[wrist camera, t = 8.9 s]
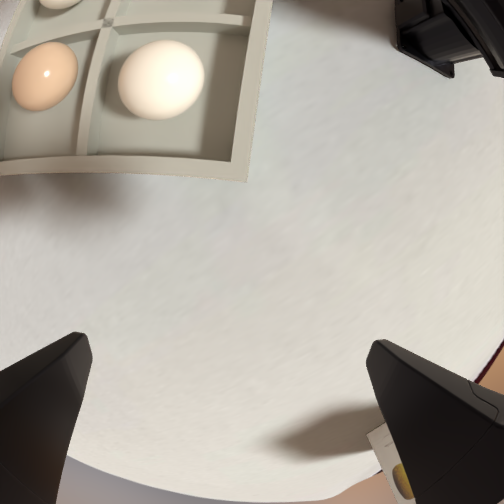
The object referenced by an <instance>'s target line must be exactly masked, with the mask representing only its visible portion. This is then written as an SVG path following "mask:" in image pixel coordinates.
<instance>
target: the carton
mask: <svg viewBox="0 0 504 504" xmlns="http://www.w3.org/2000/svg"><path fill="white" fill-rule="evenodd" d="M272 4H273V0H81V1H80V2H78V3H77V4H75V5H73V6H70V7H68V8H64V9H49V8H46V7H45V6H43V5H42V4H41V3H40V1H39V0H20V2H19V4H18V6H17V9H16V11H15V13H14V15H13V17H12V20H11V22H10V25H9V27H8V30H7V32H6V35H5V37H4V40H3V43H2V46H1V49H0V176H4V175H19V174H39V173H131V174H153V175H170V176H184V177H197V178H209V179H219V180H229V181H238V182H247V178H248V170H249V163H250V155H251V148H252V140H253V133H254V126H255V118H256V111H257V104H258V97H259V90H260V83H261V76H262V69H263V62H264V56H265V49H266V42H267V36H268V29H269V23H270V16H271V10H272ZM156 40H175V41H179V42H182V43H184V44H186V45H188V46H189V47H191V48H192V49H193V50H194V51H195V52H196V53H197V54H198V55H199V57H200V59H201V61H202V63H203V66H204V70H205V81H204V86H203V89H202V92H201V94H200V96H199V97H198V99H197V100H196V102H195V103H194V104H193V105H192V106H191V107H190V108H189V109H188V110H187V111H185V112H184V113H182V114H180V115H178V116H176V117H174V118H171V119H167V120H161V121H153V120H147V119H143V118H140V117H138V116H136V115H134V114H133V113H132V112H130V111H129V110H128V109H127V108H126V107H125V105H124V104H123V102H122V100H121V98H120V96H119V92H118V76H119V73H120V70H121V68H122V65H123V64H124V62H125V61H126V59H127V58H128V57H129V56H130V54H131V53H133V52H134V51H135V50H136V49H138V48H139V47H141V46H142V45H144V44H147V43H149V42H152V41H156ZM47 42H60V43H63V44H65V45H67V46H69V47H70V48H71V49H72V50H73V51H74V53H75V55H76V57H77V60H78V76H77V79H76V82H75V84H74V86H73V88H72V90H71V91H70V93H69V94H68V95H67V96H66V98H65V99H64V100H63V101H61V102H60V103H59V104H57V105H56V106H54V107H52V108H50V109H47V110H44V111H29V110H26V109H24V108H23V107H21V106H20V105H19V104H18V103H17V102H16V100H15V98H14V96H13V92H12V78H13V74H14V71H15V69H16V67H17V65H18V63H19V62H20V60H21V59H22V58H23V57H24V56H25V55H26V54H27V53H28V52H29V51H30V50H31V49H33V48H35V47H36V46H38V45H41V44H43V43H47Z"/></svg>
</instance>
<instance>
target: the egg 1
mask: <svg viewBox="0 0 504 504" xmlns="http://www.w3.org/2000/svg"><path fill="white" fill-rule="evenodd" d="M39 1H40V3H41V4H42V5H43V6H45V7H46V8H49V9H64V8H68V7H70V6H73V5H75V4H77V3H78V2H80V1H81V0H39Z"/></svg>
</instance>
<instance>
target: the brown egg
mask: <svg viewBox="0 0 504 504" xmlns="http://www.w3.org/2000/svg"><path fill="white" fill-rule="evenodd" d="M77 76H78V60H77V57H76V55H75V53H74V51H73V50H72V49H71V48H70V47H69V46H67V45H65V44H63V43H60V42H47V43H43V44H41V45H38V46H36V47H35V48H33V49H31V50H30V51H29V52H28V53H27V54H26V55H25V56H24V57H23V58H22V59H21V60H20V62H19V63H18V65H17V67H16V69H15V71H14V74H13V78H12V92H13V96H14V98H15V100H16V102H17V103H18V104H19V105H20V106H21V107H23V108H24V109H26V110H29V111H44V110H47V109H50V108H52V107H54V106H56V105H57V104H59V103H60V102H61V101H63V100H64V99H65V98H66V96H67V95H68V94H69V93H70V91H71V90H72V88H73V86H74V84H75V82H76V79H77Z"/></svg>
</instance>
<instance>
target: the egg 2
mask: <svg viewBox="0 0 504 504" xmlns="http://www.w3.org/2000/svg"><path fill="white" fill-rule="evenodd" d="M204 81H205V70H204V66H203V63H202V61H201V59H200V57H199V55H198V54H197V53H196V52H195V51H194V50H193V49H192V48H191V47H189V46H188V45H186V44H184V43H182V42H179V41H175V40H156V41H152V42H149V43H147V44H144V45H142V46H141V47H139V48H138V49H136V50H135V51H134V52H133V53H131V54H130V56H129V57H128V58H127V59H126V61H125V62H124V64H123V65H122V68H121V70H120V73H119V76H118V92H119V96H120V98H121V100H122V102H123V104H124V105H125V107H126V108H127V109H128V110H129V111H130V112H132V113H133V114H134V115H136V116H138V117H140V118H143V119H147V120H153V121H161V120H167V119H171V118H174V117H176V116H178V115H180V114H182V113H184V112H185V111H187V110H188V109H189V108H190V107H191V106H192V105H193V104H194V103H195V102H196V100H197V99H198V97H199V96H200V94H201V92H202V89H203V86H204Z"/></svg>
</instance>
